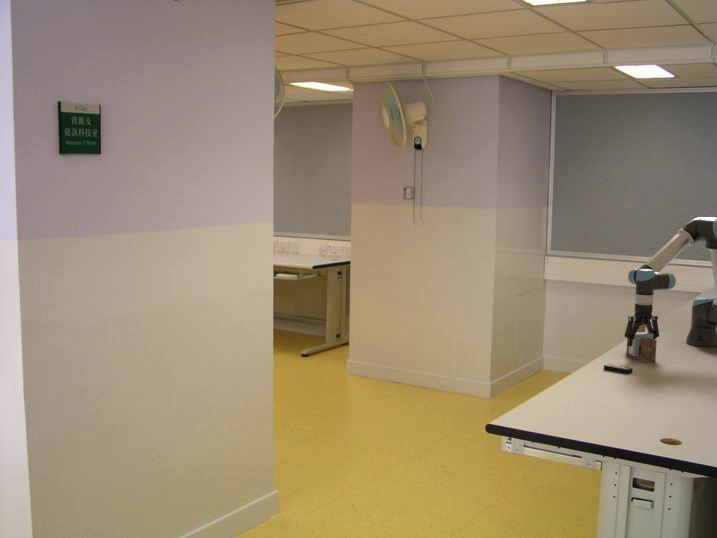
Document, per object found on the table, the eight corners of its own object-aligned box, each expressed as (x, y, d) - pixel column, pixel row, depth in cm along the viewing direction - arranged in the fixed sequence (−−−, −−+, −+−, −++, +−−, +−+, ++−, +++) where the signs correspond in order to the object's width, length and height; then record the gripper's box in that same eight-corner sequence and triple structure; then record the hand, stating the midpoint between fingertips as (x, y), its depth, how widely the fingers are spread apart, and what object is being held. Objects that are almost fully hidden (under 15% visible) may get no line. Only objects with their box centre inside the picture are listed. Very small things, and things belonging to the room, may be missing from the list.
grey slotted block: (646, 353, 361) (648, 331, 360) (652, 355, 357) (653, 333, 356) (629, 354, 359) (630, 332, 358) (634, 356, 355) (635, 334, 354)
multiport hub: (628, 375, 330) (628, 369, 330) (603, 370, 337) (603, 365, 337) (632, 373, 333) (632, 368, 333) (607, 368, 341) (608, 363, 340)
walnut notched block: (634, 354, 367) (635, 333, 365) (655, 362, 351) (656, 340, 350) (626, 354, 366) (627, 333, 364) (647, 363, 350) (648, 340, 349)
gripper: (659, 301, 362) (656, 349, 365) (617, 302, 356) (614, 351, 359) (670, 304, 355) (666, 353, 357) (627, 305, 349) (624, 355, 352)
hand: (640, 352), depth 358 cm, fingers closed on grey slotted block, 9 cm apart
